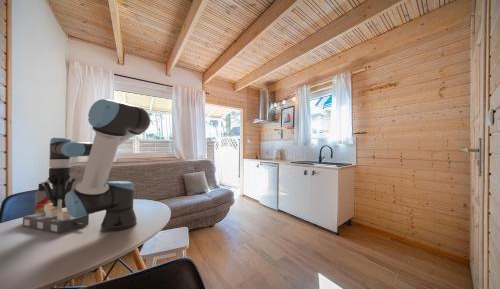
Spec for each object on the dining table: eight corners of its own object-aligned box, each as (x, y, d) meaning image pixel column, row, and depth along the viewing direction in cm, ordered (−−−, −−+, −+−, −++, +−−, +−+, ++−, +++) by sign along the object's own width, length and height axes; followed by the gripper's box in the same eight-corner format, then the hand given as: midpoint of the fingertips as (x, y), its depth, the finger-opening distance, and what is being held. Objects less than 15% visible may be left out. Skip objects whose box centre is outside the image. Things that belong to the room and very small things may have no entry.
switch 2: (58, 215, 91) (59, 208, 91) (50, 217, 88) (51, 209, 89) (53, 214, 92) (53, 207, 92) (45, 216, 89) (45, 209, 90)
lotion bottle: (39, 219, 98) (40, 183, 99) (31, 218, 99) (33, 183, 100) (52, 216, 104) (53, 182, 104) (45, 215, 105) (46, 181, 105)
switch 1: (70, 218, 88) (71, 210, 88) (63, 220, 85) (63, 212, 85) (65, 217, 89) (65, 209, 89) (57, 219, 86) (57, 211, 86)
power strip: (96, 225, 93) (97, 214, 93) (67, 236, 81) (68, 224, 81) (53, 217, 101) (54, 208, 101) (21, 226, 90) (22, 216, 90)
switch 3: (56, 210, 98) (56, 203, 98) (49, 212, 95) (49, 205, 95) (51, 209, 99) (51, 202, 99) (44, 211, 96) (44, 204, 96)
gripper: (70, 165, 100) (68, 207, 100) (37, 168, 88) (35, 215, 87) (79, 166, 98) (77, 208, 98) (47, 168, 86) (45, 217, 85)
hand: (57, 212), depth 93 cm, fingers closed
